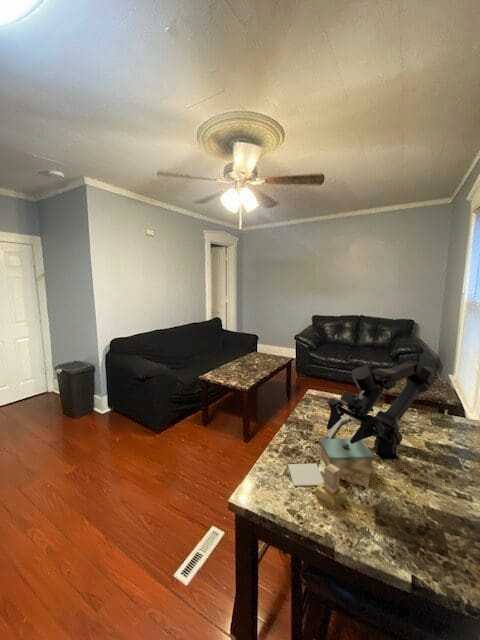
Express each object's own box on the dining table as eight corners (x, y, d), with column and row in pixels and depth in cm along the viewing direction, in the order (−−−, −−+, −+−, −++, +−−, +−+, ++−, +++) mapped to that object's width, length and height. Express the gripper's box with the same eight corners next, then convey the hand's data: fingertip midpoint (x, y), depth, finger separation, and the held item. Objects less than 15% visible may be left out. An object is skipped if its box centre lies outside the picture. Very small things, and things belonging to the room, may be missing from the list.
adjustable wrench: (328, 443, 110) (329, 439, 110) (313, 437, 114) (313, 433, 114) (351, 419, 129) (351, 415, 129) (337, 414, 133) (337, 411, 133)
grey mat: (316, 464, 97) (316, 463, 97) (325, 485, 87) (325, 484, 87) (287, 465, 97) (287, 464, 97) (293, 486, 87) (293, 485, 87)
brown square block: (329, 492, 84) (330, 463, 83) (338, 498, 82) (339, 469, 81) (323, 497, 82) (324, 467, 81) (332, 503, 80) (333, 473, 79)
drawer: (358, 453, 102) (359, 435, 101) (373, 473, 92) (374, 453, 91) (319, 454, 102) (320, 436, 101) (329, 474, 92) (329, 454, 91)
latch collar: (328, 486, 86) (328, 478, 86) (346, 499, 82) (346, 489, 81) (315, 496, 83) (316, 487, 82) (334, 509, 78) (334, 500, 77)
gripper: (335, 375, 98) (307, 407, 93) (385, 393, 81) (354, 434, 77) (346, 395, 102) (320, 428, 97) (396, 417, 86) (368, 457, 81)
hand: (338, 435), depth 88 cm, fingers open, 9 cm apart
